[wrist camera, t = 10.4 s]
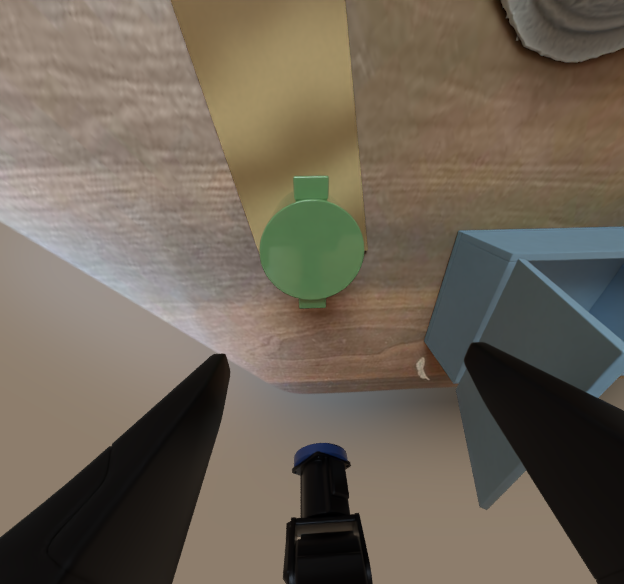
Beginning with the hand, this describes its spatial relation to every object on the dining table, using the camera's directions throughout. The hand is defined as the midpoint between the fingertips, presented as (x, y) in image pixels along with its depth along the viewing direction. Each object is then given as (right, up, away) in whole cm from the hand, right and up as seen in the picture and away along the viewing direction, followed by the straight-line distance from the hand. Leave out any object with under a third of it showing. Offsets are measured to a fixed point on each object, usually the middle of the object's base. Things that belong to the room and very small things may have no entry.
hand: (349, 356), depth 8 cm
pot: (-2, +7, +8) cm, 10 cm away
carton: (+17, +3, +12) cm, 21 cm away
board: (-5, +22, -1) cm, 22 cm away
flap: (+9, -2, +3) cm, 10 cm away
